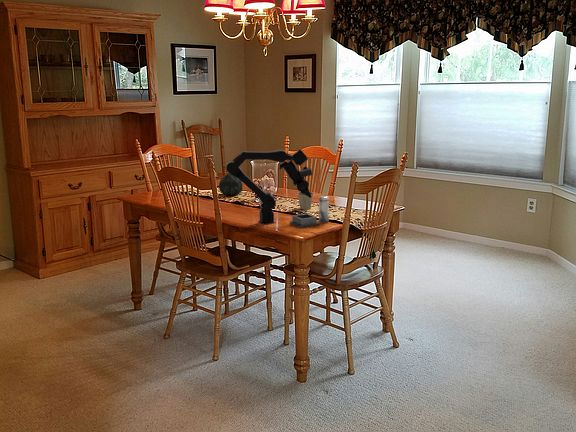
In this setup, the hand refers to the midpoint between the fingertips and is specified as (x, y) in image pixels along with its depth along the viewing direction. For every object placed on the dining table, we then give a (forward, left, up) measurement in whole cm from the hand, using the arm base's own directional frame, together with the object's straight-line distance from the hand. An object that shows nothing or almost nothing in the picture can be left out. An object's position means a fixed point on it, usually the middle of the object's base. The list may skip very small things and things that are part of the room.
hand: (309, 195), depth 300 cm
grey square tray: (-6, -4, -13) cm, 15 cm away
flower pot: (+13, +27, -14) cm, 33 cm away
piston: (+5, -5, -13) cm, 15 cm away
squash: (-7, +86, -14) cm, 87 cm away
